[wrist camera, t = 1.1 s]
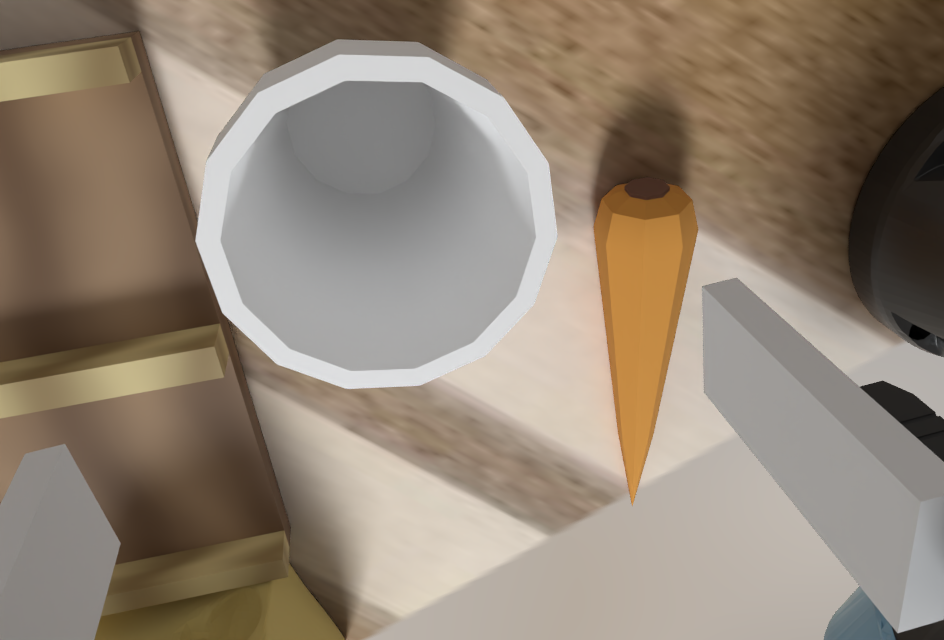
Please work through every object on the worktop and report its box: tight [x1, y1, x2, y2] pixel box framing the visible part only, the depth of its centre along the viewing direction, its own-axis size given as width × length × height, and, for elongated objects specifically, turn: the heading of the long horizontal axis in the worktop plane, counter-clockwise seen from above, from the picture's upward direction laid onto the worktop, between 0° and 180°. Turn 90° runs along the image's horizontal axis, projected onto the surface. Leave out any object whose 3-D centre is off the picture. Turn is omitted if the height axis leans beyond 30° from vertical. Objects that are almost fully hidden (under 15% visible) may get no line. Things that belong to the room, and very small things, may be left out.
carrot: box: [594, 177, 698, 505], centre depth 39 cm, size 20×4×4 cm, turn 6°
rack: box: [0, 31, 291, 616], centre depth 33 cm, size 13×25×4 cm, turn 7°
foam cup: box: [195, 39, 558, 389], centre depth 26 cm, size 10×9×13 cm
